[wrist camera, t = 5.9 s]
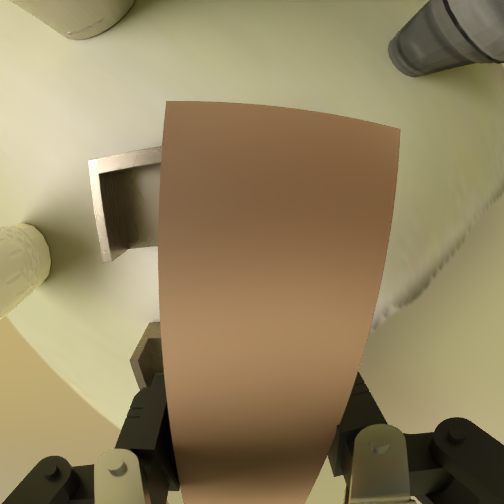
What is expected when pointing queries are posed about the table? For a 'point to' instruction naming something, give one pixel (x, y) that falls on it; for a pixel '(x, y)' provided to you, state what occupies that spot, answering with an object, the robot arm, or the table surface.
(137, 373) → the bracket
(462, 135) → the table surface
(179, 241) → the rail
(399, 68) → the beverage cup
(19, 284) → the white cup
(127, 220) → the bracket
